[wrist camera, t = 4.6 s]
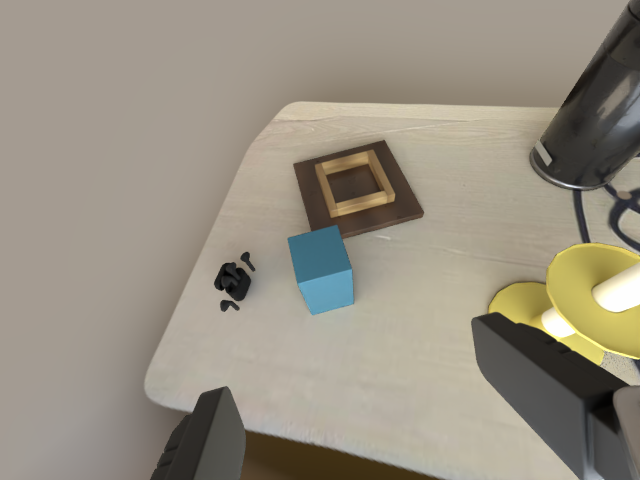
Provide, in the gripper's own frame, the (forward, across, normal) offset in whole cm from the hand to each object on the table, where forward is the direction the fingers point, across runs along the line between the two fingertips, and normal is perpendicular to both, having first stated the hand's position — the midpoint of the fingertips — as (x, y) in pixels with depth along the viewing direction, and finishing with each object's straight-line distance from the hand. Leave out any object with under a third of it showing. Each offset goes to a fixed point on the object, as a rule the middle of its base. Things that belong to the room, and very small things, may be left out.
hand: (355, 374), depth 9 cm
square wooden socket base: (+33, -7, -2) cm, 33 cm away
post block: (+24, 0, +7) cm, 24 cm away
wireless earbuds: (+26, +10, +5) cm, 28 cm away
